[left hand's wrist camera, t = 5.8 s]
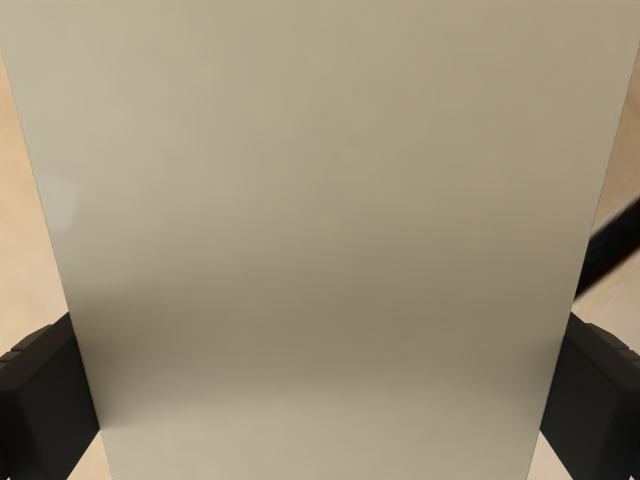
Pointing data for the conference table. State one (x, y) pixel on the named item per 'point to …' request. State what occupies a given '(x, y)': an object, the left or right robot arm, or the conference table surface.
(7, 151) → the conference table surface
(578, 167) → the cabinet
